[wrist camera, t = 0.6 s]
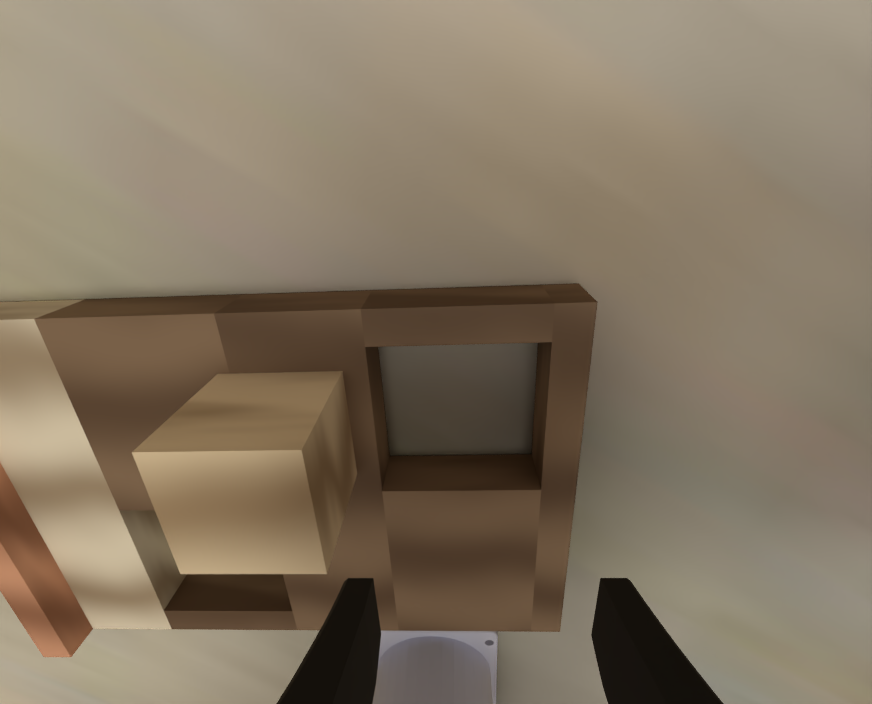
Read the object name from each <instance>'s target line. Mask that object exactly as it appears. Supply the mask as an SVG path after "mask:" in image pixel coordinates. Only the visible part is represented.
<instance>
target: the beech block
mask: <svg viewBox="0 0 872 704" xmlns="http://www.w3.org/2000/svg"><path fill="white" fill-rule="evenodd" d="M132 455H133V457H134V460H135V462H136V465H137V467H138V470H139V472H140V475H141V477H142V480H143V482H144V485H145V487H146V489H147V492H148V494H149V497H150V499H151V502H152V504H153V507H154V509H155V512H156V514H157V517H158V519H159V522H160V524H161V527H162V529H163V532H164V534H165V537H166V539H167V542H168V544H169V547H170V549H171V552H172V554H173V557H174V559H175V562H176V564H177V567H178V569H179V572H180V574H327V573H328V569H329V566H330V563H331V559H332V556H333V553H334V549H335V546H336V543H337V539H338V536H339V533H340V529H341V526H342V523H343V520H344V516H345V513H346V510H347V506H348V503H349V500H350V496H351V493H352V490H353V486H354V483H355V480H356V476H357V468H356V461H355V454H354V447H353V440H352V434H351V427H350V420H349V413H348V406H347V399H346V392H345V385H344V378H343V372H342V371H328V372H284V373H240V374H217V375H216V376H215V377H214V378H212V379H211V380H210V381H209V382H208V383H207V384H206V385H205V386H204V387H203V388H202V389H200V390H199V391H198V392H197V393H196V394H195V395H194V396H193V397H192V398H191V399H189V400H188V401H187V402H186V403H185V404H184V405H183V406H182V407H181V408H180V409H179V410H177V411H176V412H175V413H174V414H173V415H172V416H171V417H170V418H169V419H168V420H166V421H165V422H164V423H163V424H162V425H161V426H160V427H159V428H158V429H157V430H156V431H154V432H153V433H152V434H151V435H150V436H149V437H148V438H147V439H146V440H145V441H144V442H142V443H141V444H140V445H139V446H138V447H137V448H136V449H135V450H134V451H133V452H132Z"/></svg>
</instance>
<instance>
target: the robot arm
mask: <svg viewBox="0 0 872 704" xmlns="http://www.w3.org/2000/svg"><path fill="white" fill-rule="evenodd" d="M592 640H593V645H594V649H595V654H596V658H597V663H598V667H599V671H600V676H601V680H602V684H603V688H604V691H605V694H606V698H607V701H608V704H723V703H722V701H721V700H720V699H719V698H718V697H717V695H716V694H715V693H714V692H713V690H712V689H711V688H710V687H709V685H708V684H707V683H706V682H705V680H704V679H703V678H702V677H701V675H700V674H699V673H698V672H697V670H696V669H695V668H694V666H693V665H692V664H691V663H690V661H689V660H688V659H687V658H686V656H685V655H684V654H683V652H682V651H681V650H680V649H679V647H678V646H677V645H676V643H675V642H674V641H673V639H672V638H671V637H670V635H669V634H668V633H667V631H666V630H665V629H664V627H663V626H662V624H661V623H660V622H659V620H658V619H657V618H656V616H655V615H654V614H653V612H652V611H651V609H650V608H649V607H648V605H647V604H646V602H645V601H644V600H643V598H642V597H641V595H640V594H639V592H638V591H637V590H636V588H635V587H634V585H633V584H632V582H631V581H630V580H629V579H627V578H600V585H599V591H598V597H597V603H596V610H595V616H594V622H593V628H592ZM497 644H498V635H497V631H386V630H381V628H380V621H379V614H378V608H377V601H376V594H375V587H374V580H373V578H348V579H347V580H345V581H344V583H343V585H342V587H341V590H340V592H339V594H338V596H337V598H336V600H335V602H334V604H333V606H332V608H331V610H330V612H329V614H328V616H327V618H326V620H325V622H324V624H323V625H322V627H321V629H320V631H319V633H318V635H317V637H316V638H315V640H314V642H313V644H312V645H311V647H310V649H309V651H308V652H307V654H306V656H305V658H304V659H303V661H302V663H301V665H300V666H299V668H298V670H297V671H296V673H295V675H294V677H293V678H292V680H291V682H290V683H289V685H288V686H287V688H286V690H285V691H284V693H283V694H282V696H281V697H280V699H279V701H278V702H277V704H496V685H497Z"/></svg>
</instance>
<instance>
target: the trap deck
mask: <svg viewBox="0 0 872 704" xmlns="http://www.w3.org/2000/svg"><path fill="white" fill-rule="evenodd" d="M596 310H597V301H596V300H595V299H594V298H593V297H592V296H591V295H590V294H589V293H588V292H587V291H585V290H584V289H583V288H582V287H581V286H580V285H579V284H554V285H523V286H491V287H460V288H428V289H397V290H366V291H334V292H303V293H271V294H240V295H208V296H177V297H146V298H114V299H83V300H51V301H20V302H0V591H1V593H2V594H3V596H4V597H5V599H6V600H7V602H8V603H9V605H10V606H11V608H12V609H13V611H14V612H15V614H16V615H17V617H18V619H19V620H20V622H21V623H22V625H23V626H24V628H25V629H26V631H27V632H28V634H29V635H30V637H31V638H32V640H33V641H34V643H35V644H36V646H37V648H38V649H39V651H40V652H41V654H42V655H43V657H72V655H73V654H74V653H75V651H76V650H77V649H78V647H79V646H80V645H81V644H82V642H83V641H84V640H85V638H86V637H87V636H88V634H89V633H90V632H91V631H92V629H231V630H320V629H321V627H322V625H323V624H324V622H325V620H326V618H327V616H328V614H329V612H330V610H331V608H332V606H333V604H334V602H335V600H336V598H337V596H338V594H339V592H340V590H341V587H342V585H343V583H344V581H345V580H347V579H348V578H373V580H374V587H375V594H376V601H377V608H378V614H379V621H380V628H381V630H386V631H540V632H560V626H561V617H562V608H563V599H564V591H565V582H566V573H567V564H568V556H569V547H570V538H571V529H572V520H573V512H574V503H575V494H576V485H577V477H578V468H579V459H580V450H581V442H582V433H583V424H584V415H585V406H586V398H587V389H588V380H589V371H590V363H591V354H592V345H593V336H594V327H595V319H596ZM500 343H538V353H537V370H536V387H535V404H534V421H533V438H532V454H517V455H440V456H390V455H389V446H388V436H387V427H386V417H385V408H384V398H383V388H382V379H381V369H380V360H379V350H378V347H383V346H422V345H461V344H500ZM328 371H342V372H343V378H344V385H345V392H346V399H347V406H348V413H349V420H350V427H351V434H352V440H353V447H354V454H355V461H356V468H357V476H356V480H355V483H354V486H353V490H352V493H351V496H350V500H349V503H348V506H347V510H346V513H345V516H344V520H343V523H342V526H341V529H340V533H339V536H338V539H337V543H336V546H335V549H334V553H333V556H332V559H331V563H330V566H329V569H328V573H327V574H180V572H179V569H178V567H177V564H176V562H175V559H174V557H173V554H172V552H171V549H170V547H169V544H168V542H167V539H166V537H165V534H164V532H163V529H162V527H161V524H160V522H159V519H158V517H157V514H156V512H155V509H154V507H153V504H152V502H151V499H150V497H149V494H148V492H147V489H146V487H145V485H144V482H143V480H142V477H141V475H140V472H139V470H138V467H137V465H136V462H135V460H134V457H133V455H132V452H133V451H134V450H135V449H136V448H137V447H138V446H139V445H140V444H141V443H142V442H144V441H145V440H146V439H147V438H148V437H149V436H150V435H151V434H152V433H153V432H154V431H156V430H157V429H158V428H159V427H160V426H161V425H162V424H163V423H164V422H165V421H166V420H168V419H169V418H170V417H171V416H172V415H173V414H174V413H175V412H176V411H177V410H179V409H180V408H181V407H182V406H183V405H184V404H185V403H186V402H187V401H188V400H189V399H191V398H192V397H193V396H194V395H195V394H196V393H197V392H198V391H199V390H200V389H202V388H203V387H204V386H205V385H206V384H207V383H208V382H209V381H210V380H211V379H212V378H214V377H215V376H216V375H217V374H240V373H284V372H328Z"/></svg>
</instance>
